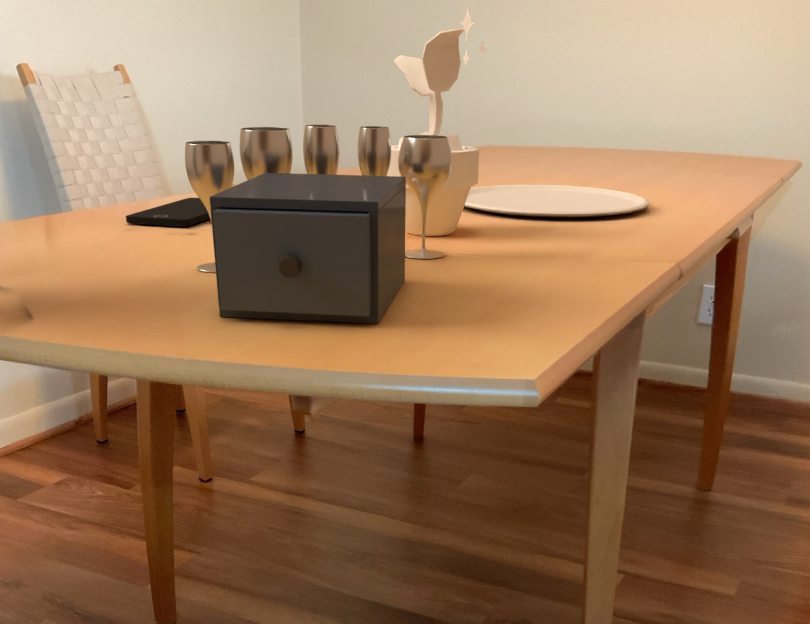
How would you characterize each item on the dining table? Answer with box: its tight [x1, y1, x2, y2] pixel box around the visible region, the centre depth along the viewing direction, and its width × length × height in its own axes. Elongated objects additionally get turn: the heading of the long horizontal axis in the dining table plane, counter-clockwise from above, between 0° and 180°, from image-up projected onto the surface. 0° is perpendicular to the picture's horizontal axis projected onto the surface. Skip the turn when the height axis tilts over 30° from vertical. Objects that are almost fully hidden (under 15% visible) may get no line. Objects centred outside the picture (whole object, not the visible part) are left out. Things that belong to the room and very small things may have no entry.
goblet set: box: [184, 124, 452, 274], centre depth 95 cm, size 28×6×13 cm, turn 111°
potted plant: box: [387, 6, 489, 237], centre depth 109 cm, size 13×12×25 cm
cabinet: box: [210, 173, 406, 325], centre depth 81 cm, size 17×14×10 cm
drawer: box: [213, 208, 371, 316], centre depth 79 cm, size 17×12×8 cm
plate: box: [464, 184, 650, 219], centre depth 135 cm, size 29×29×1 cm
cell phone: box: [125, 197, 210, 228], centre depth 123 cm, size 9×18×1 cm, turn 165°
